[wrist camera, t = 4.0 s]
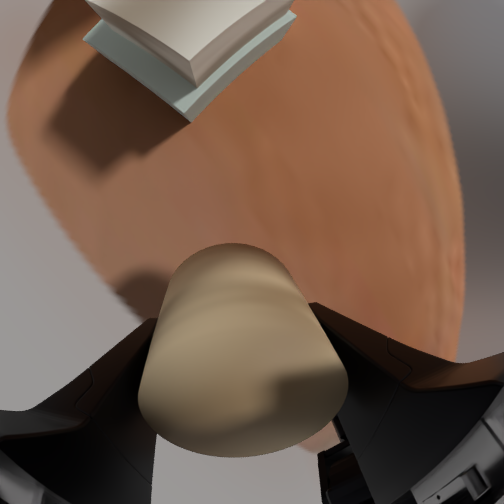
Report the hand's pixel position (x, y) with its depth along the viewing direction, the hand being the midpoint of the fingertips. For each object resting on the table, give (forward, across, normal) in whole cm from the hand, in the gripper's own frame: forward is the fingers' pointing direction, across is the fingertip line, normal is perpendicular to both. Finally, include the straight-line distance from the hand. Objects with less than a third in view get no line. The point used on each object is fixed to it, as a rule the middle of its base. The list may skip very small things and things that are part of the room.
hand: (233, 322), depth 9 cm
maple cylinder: (+1, 0, 0) cm, 1 cm away
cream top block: (+3, +1, -12) cm, 13 cm away
